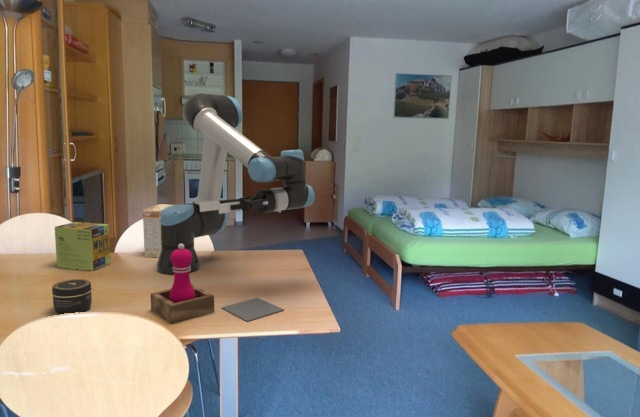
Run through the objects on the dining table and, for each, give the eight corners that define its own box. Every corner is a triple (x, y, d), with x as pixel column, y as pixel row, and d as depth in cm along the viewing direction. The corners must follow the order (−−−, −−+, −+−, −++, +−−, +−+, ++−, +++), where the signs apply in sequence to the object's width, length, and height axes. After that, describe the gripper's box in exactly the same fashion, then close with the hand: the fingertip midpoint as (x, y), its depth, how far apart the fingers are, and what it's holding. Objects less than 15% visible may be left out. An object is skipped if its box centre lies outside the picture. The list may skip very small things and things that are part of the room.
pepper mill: (200, 308, 142) (199, 242, 138) (186, 317, 135) (184, 247, 131) (179, 305, 144) (177, 239, 141) (164, 313, 137) (162, 245, 134)
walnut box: (151, 310, 139) (150, 293, 139) (191, 299, 148) (191, 284, 148) (172, 323, 130) (171, 306, 129) (214, 312, 139) (214, 295, 138)
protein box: (93, 271, 174) (91, 229, 172) (56, 268, 177) (53, 226, 175) (111, 263, 184) (109, 223, 182) (76, 260, 187) (73, 221, 185)
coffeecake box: (161, 248, 209) (159, 203, 206) (176, 249, 208) (175, 204, 205) (143, 257, 194) (141, 209, 191) (160, 258, 193) (158, 210, 190)
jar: (65, 302, 144) (64, 278, 142) (99, 303, 143) (97, 279, 142) (45, 315, 134) (44, 289, 132) (81, 316, 133) (79, 290, 132)
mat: (221, 308, 142) (221, 307, 142) (257, 298, 151) (257, 297, 151) (247, 322, 133) (247, 320, 133) (283, 310, 142) (284, 309, 141)
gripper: (293, 213, 146) (229, 223, 133) (253, 210, 166) (194, 218, 153) (291, 188, 145) (226, 195, 132) (251, 188, 165) (191, 195, 152)
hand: (209, 208), depth 143 cm, fingers open, 13 cm apart
